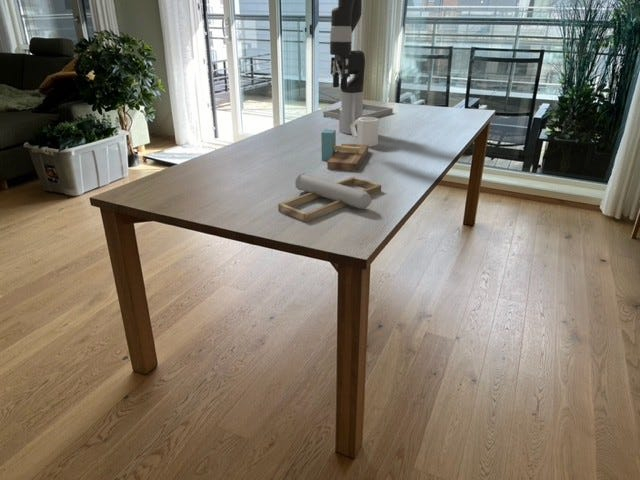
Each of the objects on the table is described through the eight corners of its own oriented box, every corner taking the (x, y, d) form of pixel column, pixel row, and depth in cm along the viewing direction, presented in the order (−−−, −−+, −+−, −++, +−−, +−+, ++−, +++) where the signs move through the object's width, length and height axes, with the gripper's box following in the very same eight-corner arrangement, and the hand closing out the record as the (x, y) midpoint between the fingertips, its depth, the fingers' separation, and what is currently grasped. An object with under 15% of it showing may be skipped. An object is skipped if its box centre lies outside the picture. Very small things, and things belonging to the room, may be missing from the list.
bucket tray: (323, 116, 239) (323, 111, 238) (361, 107, 257) (361, 103, 256) (355, 122, 225) (355, 117, 224) (392, 113, 244) (392, 108, 243)
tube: (376, 193, 129) (308, 173, 144) (365, 191, 125) (297, 171, 140) (371, 212, 130) (305, 190, 145) (361, 211, 126) (293, 189, 141)
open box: (327, 168, 163) (327, 161, 162) (342, 150, 184) (342, 143, 183) (356, 170, 161) (356, 163, 160) (368, 151, 181) (368, 144, 180)
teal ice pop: (321, 160, 172) (321, 132, 168) (325, 156, 177) (324, 129, 172) (358, 162, 169) (359, 134, 165) (361, 158, 174) (361, 131, 169)
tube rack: (278, 210, 131) (278, 204, 130) (353, 182, 150) (353, 176, 149) (306, 222, 124) (306, 215, 123) (381, 191, 143) (381, 184, 142)
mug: (381, 142, 193) (382, 118, 188) (370, 147, 186) (371, 122, 182) (356, 138, 199) (356, 114, 194) (344, 143, 193) (345, 118, 188)
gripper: (358, 40, 163) (356, 90, 170) (344, 40, 176) (342, 86, 182) (337, 40, 161) (336, 90, 168) (324, 40, 174) (324, 86, 180)
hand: (339, 88), depth 175 cm, fingers open, 8 cm apart
